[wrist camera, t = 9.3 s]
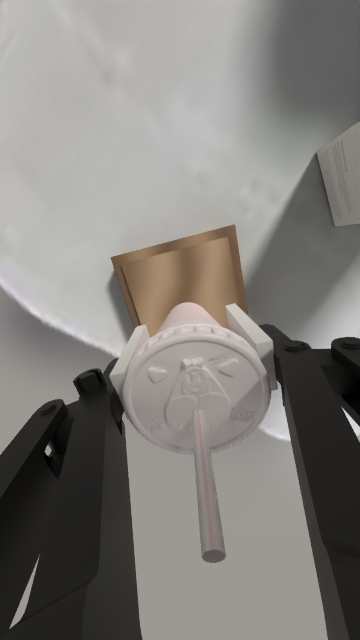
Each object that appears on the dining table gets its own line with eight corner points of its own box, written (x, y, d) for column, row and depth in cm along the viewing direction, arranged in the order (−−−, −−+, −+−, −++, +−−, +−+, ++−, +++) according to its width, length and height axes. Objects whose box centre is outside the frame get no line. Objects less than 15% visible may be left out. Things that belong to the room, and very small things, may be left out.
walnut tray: (227, 227, 25) (235, 223, 21) (243, 330, 29) (252, 342, 26) (119, 256, 26) (109, 257, 22) (150, 350, 31) (146, 365, 27)
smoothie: (157, 358, 19) (104, 616, 6) (145, 290, 17) (15, 448, 4) (226, 351, 19) (340, 603, 5) (223, 281, 16) (395, 413, 3)
